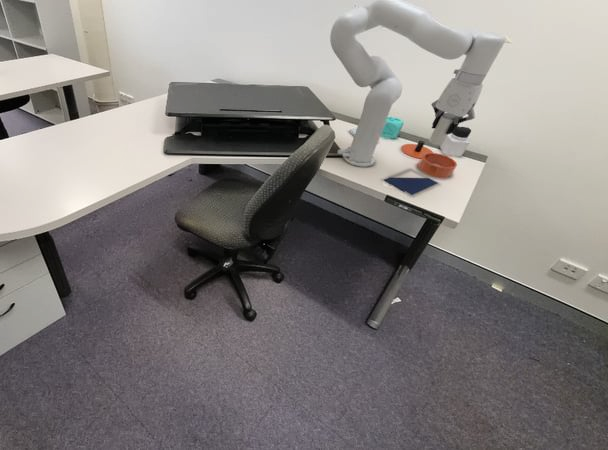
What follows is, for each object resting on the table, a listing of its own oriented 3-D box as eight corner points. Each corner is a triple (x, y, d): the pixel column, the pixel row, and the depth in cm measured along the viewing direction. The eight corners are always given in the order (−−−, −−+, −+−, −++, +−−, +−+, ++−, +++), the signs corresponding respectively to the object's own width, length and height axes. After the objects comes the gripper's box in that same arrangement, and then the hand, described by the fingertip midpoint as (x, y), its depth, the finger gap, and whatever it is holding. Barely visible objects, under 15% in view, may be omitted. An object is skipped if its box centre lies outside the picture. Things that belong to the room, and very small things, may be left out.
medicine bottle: (461, 157, 146) (476, 132, 138) (444, 155, 147) (458, 130, 139) (455, 149, 151) (469, 125, 143) (438, 148, 152) (452, 123, 144)
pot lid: (408, 160, 143) (414, 148, 139) (395, 145, 153) (400, 134, 149) (438, 160, 143) (445, 149, 139) (423, 146, 153) (429, 135, 149)
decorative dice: (393, 141, 156) (400, 125, 151) (376, 136, 160) (382, 120, 155) (398, 135, 161) (405, 119, 156) (381, 130, 165) (387, 115, 160)
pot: (426, 178, 132) (432, 168, 129) (412, 162, 141) (417, 152, 138) (456, 179, 132) (463, 168, 129) (440, 163, 141) (446, 153, 138)
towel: (411, 195, 122) (411, 195, 122) (384, 180, 130) (384, 179, 130) (437, 183, 129) (438, 183, 129) (410, 169, 137) (410, 168, 136)
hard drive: (350, 128, 162) (362, 140, 153) (365, 128, 163) (378, 139, 154) (349, 131, 163) (361, 143, 154) (364, 131, 164) (377, 142, 155)
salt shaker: (432, 145, 119) (447, 117, 112) (426, 139, 122) (439, 112, 115) (445, 145, 119) (460, 118, 112) (438, 139, 122) (452, 112, 116)
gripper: (438, 71, 109) (413, 123, 121) (491, 87, 99) (459, 142, 111) (450, 68, 112) (425, 119, 124) (504, 83, 102) (471, 138, 114)
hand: (442, 130), depth 117 cm, fingers closed on salt shaker, 4 cm apart
